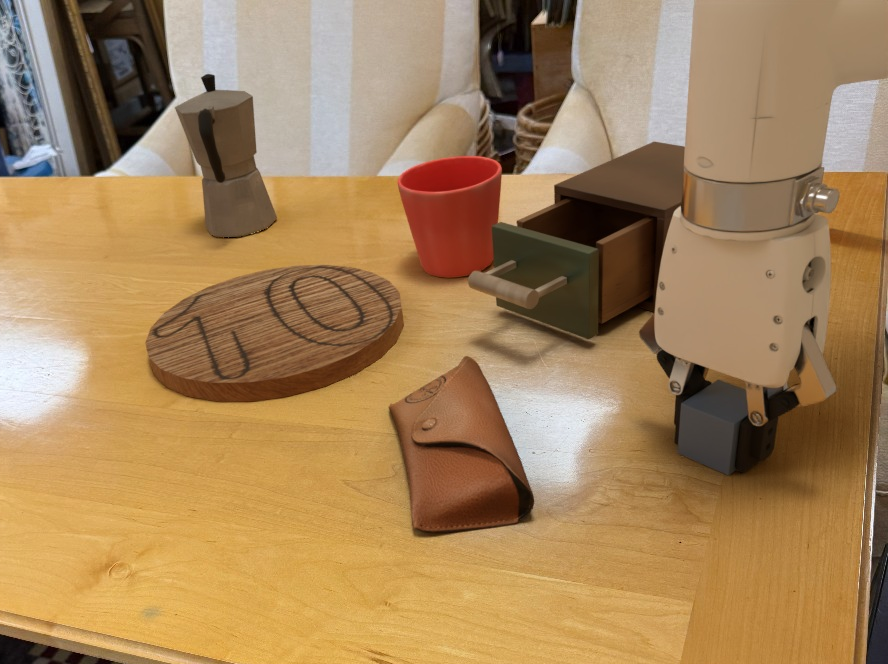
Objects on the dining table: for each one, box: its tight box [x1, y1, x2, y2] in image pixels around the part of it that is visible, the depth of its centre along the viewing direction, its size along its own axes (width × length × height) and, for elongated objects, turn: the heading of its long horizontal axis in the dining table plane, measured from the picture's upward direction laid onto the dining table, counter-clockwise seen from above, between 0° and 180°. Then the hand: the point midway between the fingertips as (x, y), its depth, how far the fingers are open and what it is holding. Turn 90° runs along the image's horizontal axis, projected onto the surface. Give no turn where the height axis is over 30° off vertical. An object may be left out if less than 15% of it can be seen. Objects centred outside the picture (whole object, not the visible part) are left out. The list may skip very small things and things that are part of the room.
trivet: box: [144, 264, 405, 402], centre depth 88 cm, size 25×25×2 cm
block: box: [677, 379, 748, 476], centre depth 63 cm, size 4×4×4 cm
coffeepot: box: [174, 73, 278, 239], centre depth 110 cm, size 15×9×18 cm, turn 1°
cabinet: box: [553, 141, 685, 313], centre depth 87 cm, size 15×13×10 cm
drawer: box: [467, 197, 658, 340], centre depth 82 cm, size 19×11×8 cm, turn 129°
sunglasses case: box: [388, 355, 535, 534], centre depth 67 cm, size 18×7×7 cm, turn 7°
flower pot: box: [397, 155, 503, 279], centre depth 95 cm, size 11×11×10 cm
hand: (720, 447), depth 64 cm, fingers closed on block, 4 cm apart
